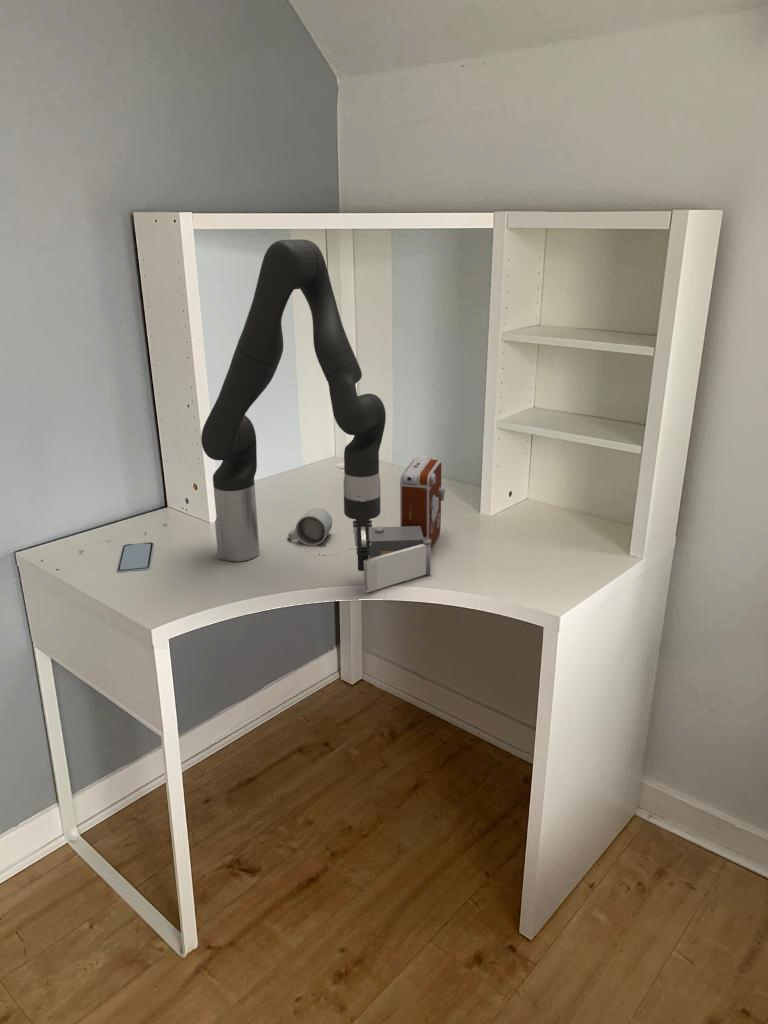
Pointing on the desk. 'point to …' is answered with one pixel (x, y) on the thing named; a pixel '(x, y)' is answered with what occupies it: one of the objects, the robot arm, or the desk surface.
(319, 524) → the ceramic mug
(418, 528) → the block
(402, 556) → the side door
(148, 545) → the smartphone
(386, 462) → the desk surface
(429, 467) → the cine camera
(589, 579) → the desk surface
